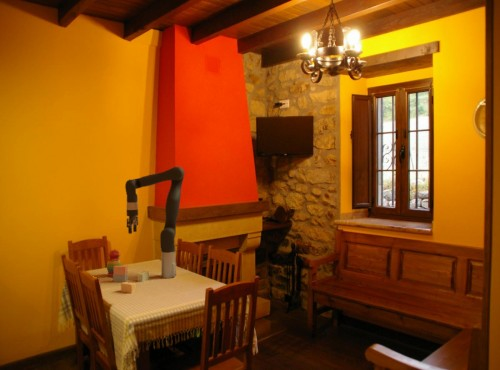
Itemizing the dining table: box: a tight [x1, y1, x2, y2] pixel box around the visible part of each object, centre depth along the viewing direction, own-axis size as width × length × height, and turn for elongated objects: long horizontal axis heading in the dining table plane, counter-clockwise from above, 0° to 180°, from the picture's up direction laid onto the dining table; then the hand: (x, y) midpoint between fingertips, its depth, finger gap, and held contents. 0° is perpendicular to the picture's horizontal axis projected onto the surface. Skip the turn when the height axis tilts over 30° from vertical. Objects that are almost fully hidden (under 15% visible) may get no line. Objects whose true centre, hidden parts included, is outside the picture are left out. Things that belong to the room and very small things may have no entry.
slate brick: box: [112, 273, 128, 283], centre depth 263 cm, size 8×4×5 cm, turn 85°
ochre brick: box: [120, 281, 137, 294], centre depth 241 cm, size 8×4×5 cm, turn 66°
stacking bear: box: [106, 248, 122, 278], centre depth 278 cm, size 11×10×18 cm
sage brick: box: [137, 270, 150, 283], centre depth 266 cm, size 8×4×5 cm, turn 165°
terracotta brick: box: [113, 265, 129, 275], centre depth 263 cm, size 8×4×5 cm, turn 85°
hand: (132, 232), depth 274 cm, fingers open, 8 cm apart
